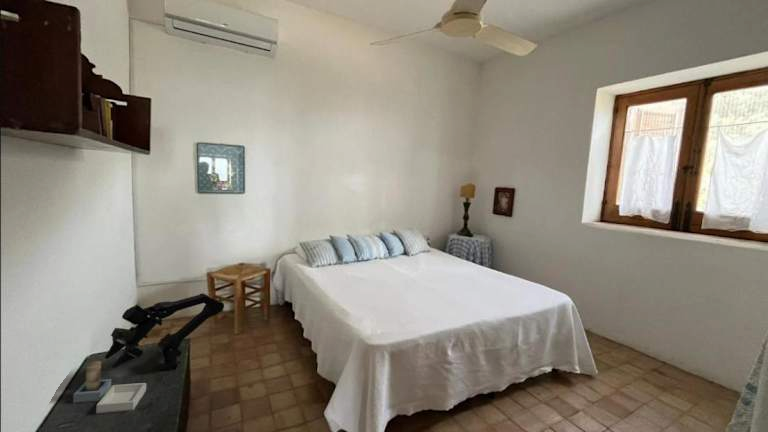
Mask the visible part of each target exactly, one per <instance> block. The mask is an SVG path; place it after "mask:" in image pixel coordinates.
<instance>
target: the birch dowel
mask: <svg viewBox="0 0 768 432" xmlns="http://www.w3.org/2000/svg"><path fill="white" fill-rule="evenodd" d="M101 377H102V362H101V361H100V360H99V361H92V362H89V363H87V364H86V366H85V382H86V391H98V390H99V389H100V385H101V380H102V379H101Z"/></svg>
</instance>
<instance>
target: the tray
mask: <svg viewBox="0 0 768 432" xmlns="http://www.w3.org/2000/svg"><path fill="white" fill-rule="evenodd" d="M146 391H147V382H140V383H125V384H123V383H122V384H113V385H111V387H110V389H109V390H108V391H107V392H106V394H105V395H104V396H103V397H102V398H101V400H100V401H98V403H97V404H96V412H95V413H96V415H97V414H109V413H118V412H128V411H129V412H130V411H134V410H135V408H136V407H137V405H138V403H139V402H140V400H141V399H142V397H143V396H144V395H145V394H146V393H145V392H146Z"/></svg>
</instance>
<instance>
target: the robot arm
mask: <svg viewBox="0 0 768 432" xmlns="http://www.w3.org/2000/svg"><path fill="white" fill-rule="evenodd" d="M202 304H205V305H204V306H203V307H202V310H201V311H200V312H199V313H198V314H196V316H194V317H192V319H191V320H189V321H188V322H187V323H186V324H185V325H183V326H182V327H181V328H180V329H178V331H176V332H175V333H172V334H170V333H167V334H166V335H165V336H164V337H162V338H161V339H159V341H158V343H157V345H156V348H157V350H158V351H159V352H160V353H161V354H162V355H163V363H162V366H161V368H160V369H159V370H160V371H173V370H174V371H176V370H177V369H178V367H179V366H180V363H181V360H179V357H181V356H182V355H181V354H182V350H181V349H180V346H181V344H182V342H183V341H184V340H185V339H186V338H187V337H188V336H190V335H191V334H192V333H193V332H194V331H195V330H196V329H198V328H199V327H200V326H201V325H202V324H204V322H205V321H207V320H208V319H210V318H211V317H214V316H217V315H218V314H220V313H221V312H222V311H223V310H224V308H225V304H224V302H223V301H221V300H219V299H218V298H212V297H210V296H209V295H208V294H206V293H204V292H202V293H199V294H197V295H193V296H189V297H186V298H182V299H179V300H176V301H175V300H174V301H161V302H157V303H155V304H154V305H151V306H149V307H145V308H142V307H141V306H140V305H138V304H135V305H134V306H132V307H129V308H127V309H126V310H125V311H124V312H123V314H122V316H121V318H122V319H123V320H125V321H126V322H129V323H130V324H132V325H133V326H131V327H130V328H128V329H127V328H121V327H115V328H114V329H113V331H112V332H111V334H110V337H112V338H111V339H112V344H111V346H110V348H109V350H108V351H107V353H106V355H105V356H104V359H106V360H108V359H109V358H112V357H113V356H114V355H116V354H117V353H118V352H120V351H121V355H119V357H118V359H117V360H116V361H115V362H114V363H113V365H112V366H111V368H113V369H116V368H117V367H119V366H121V365H123V364H125V363H127V362H129V361H131V360H134V359H137V358H139V359H140V358H141V356H142V355H144V350H143V349H142V348H141V347H140V344H139V343H140V342H141V341H142V340H143V339H144V338H145V339H147V338H148V334H149V332H151V331H152V330H153V329H154V328H155V327H156V326H157V325H159V327H162V326H163V319H166V318H168V317H170V316H172V315H174V314H175V313H176V312H179V311H181V310H185V309H188V308H192V307H195V306H199V305H202ZM134 325H135V326H134ZM123 348H124V349H123Z"/></svg>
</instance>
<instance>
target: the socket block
mask: <svg viewBox="0 0 768 432" xmlns="http://www.w3.org/2000/svg"><path fill="white" fill-rule="evenodd" d="M111 387H112V378H107V379H101V385H100V389H99V390H98V391H86V381H85V382H84V383H83V384H82V385H81V386H79V388H78V389H77V390H76V391H75V392H74V393H73V394H72V395H73V399H72V400H73V403H76V404H77V403H87V402H88V403H89V402H100V400H101V399H102V398H103V397H104V396H105V394H106V393H107V392H108V391H109V389H110V388H111Z"/></svg>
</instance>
